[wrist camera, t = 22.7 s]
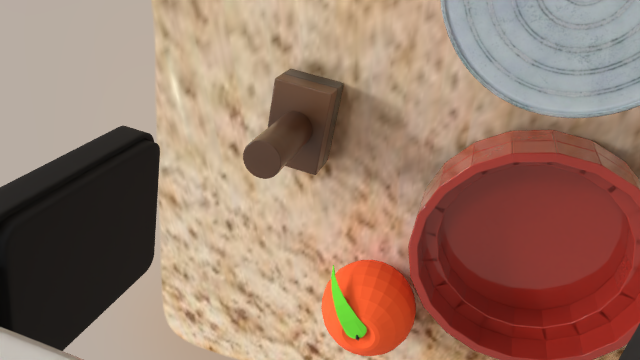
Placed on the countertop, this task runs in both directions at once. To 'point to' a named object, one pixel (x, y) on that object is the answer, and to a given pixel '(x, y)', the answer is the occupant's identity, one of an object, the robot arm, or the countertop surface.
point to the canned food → (551, 52)
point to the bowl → (531, 247)
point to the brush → (296, 125)
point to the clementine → (368, 307)
